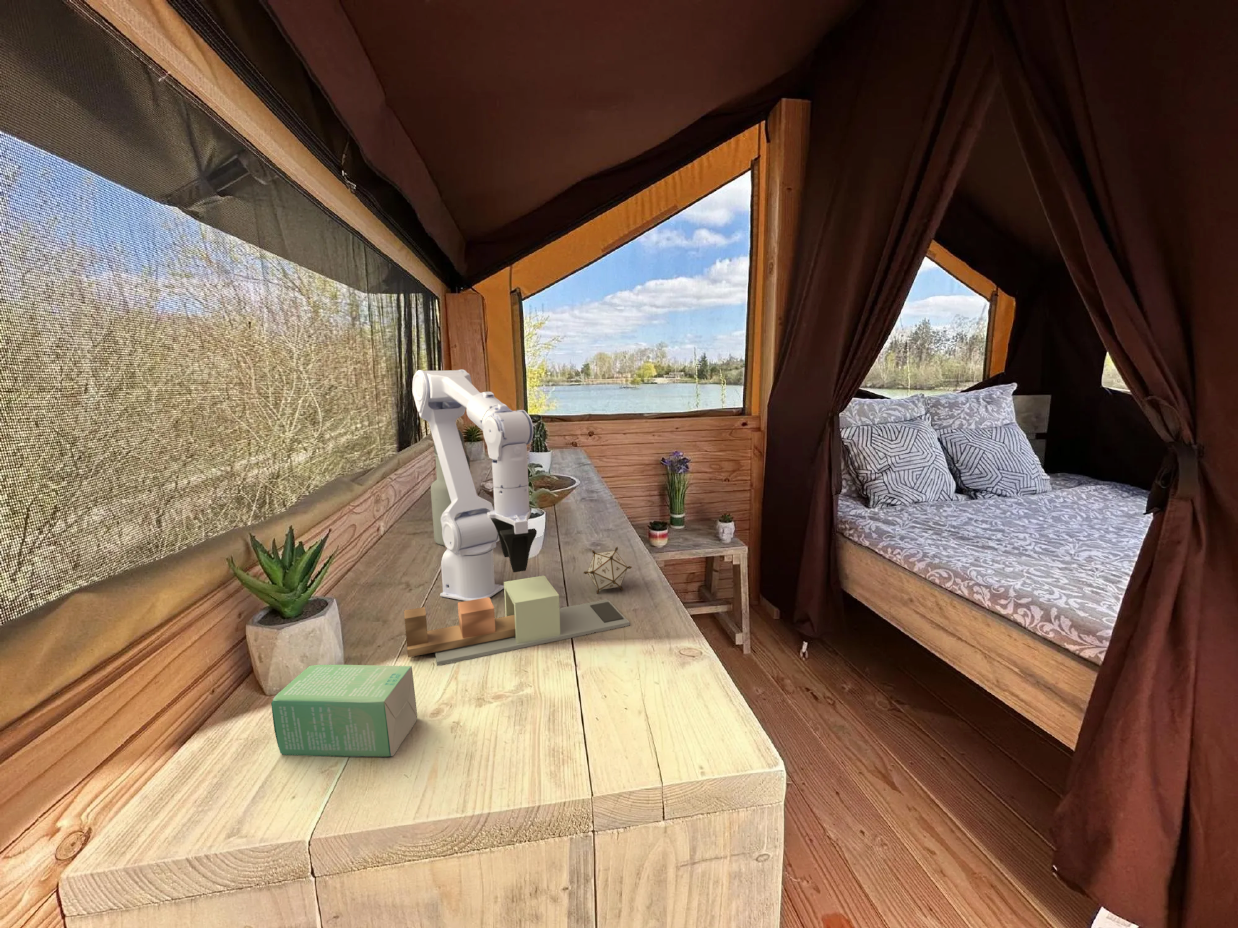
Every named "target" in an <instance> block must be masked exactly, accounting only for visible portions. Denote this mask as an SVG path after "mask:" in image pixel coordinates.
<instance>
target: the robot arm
mask: <svg viewBox="0 0 1238 928" xmlns="http://www.w3.org/2000/svg"><path fill="white" fill-rule="evenodd" d="M472 383H473V382H472V377H471V374H470V373H469V372H467V370H465V369H463V368H462V369H454V370H453V369H452V370H449V369H448V370H423V369H418V370H417V371H416V372H415V373H414V375H413V378H412V388H411V389H412V390H411V391H412V396H413V400H414V403H415V407H416V410H417V412H418V416H419V418H420V419H422V420H424V421H427V423H428V426H429V429H430V432H431V437H432V440H433V444H435V447H436V451H437V454H438V458H439V461H440V465H441V468H442V472H443V475H444V479H445V482H446V485H447V489H448V492H449V496H450V499H451V504H450V505H449V506H448V507H447V509H446V510H445V511H444V512H443V514H442V516H441V524H442V536H443V541H444V544H445V546H444V547H446V550H445V551H444V553H443V555H442V557H441V562H440V568H441V581H442V582H441V583H442V592H440V594H439V596H440V597H443V598H448V599H449V598H450V599H454V600H459V601H463V602H464V601H469V600H475V599H481V598H487V597H489V598H490V599H491V598H492V597H493V596H494V595H496V594H497V593H499V592H501V591H502V590H504V584H497V583H495V581H496V580H495V566H494V548H495V549H496V548H497V543H498V542H499V543H500V548H501V550H502V554H503V557H504V558H508V559H509V563H510V567H511V570H512V572H513V573H520V572H525V571H527V569H528V568H527V567H528V562H529V556H530V553H531V552H530V551H531V548H532V546H533V542H534V540H535V538H536V537H537V534H538V533H537V532H538V531H537V529H536V527H535V528H529V524H528V522H529V519H530V517H531V514H532V512H531V511H532V510H531V508H530V494H529V491H530V489H529V488H530V487H529V470H528V469H529V467H528V464H529V463H528V447H527V446H528V445H529V444H530V443H531V442H532V440H533V437H534V424H533V421H532V419H531V416H530V415H529V413H528V412H527V411H526V410H524V409H517V410H512V409H511V408H510V407H509V406H508V405H507V404H505V403H503V402H502V401H501V400H500V399H498V398H497V397H495V394H494V392H492V391H483V392H480V391H479V390H478V388H476V387H475V385H473V384H472ZM465 412H466V415H467V417H468V419H469V420H470V421H471V422H472V423H473V424H474V425H476V426H477V427H478V428H479V429H480V430H481V431H482V433H483V439H484V441H485V444H486V447H487V454H488V458H489V459H491V469H492V471H491V472H492V487H493V503H492V502H490V501H489V500H486V499H484V498H483V497H480V496H479V495H478V493H477V489H476V486H475V484H474V480H473V476H472V473H471V468H470V469H469V466H468V462H467V459H466V456H465V454H466V453H465V450H464V449H463V448H464V447H463V446H462V442H461V439H460V436H459V432H458V430H459V429H458V426H457V420H458V419H459V418H461V417H462V416H464V415H465ZM493 504H494V505H493Z"/></svg>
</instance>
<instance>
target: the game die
mask: <svg viewBox="0 0 1238 928" xmlns="http://www.w3.org/2000/svg"><path fill="white" fill-rule="evenodd" d="M618 549H619V548H618V546H617V547H615V549H614V550H610V551H600V552H596V551H595V550H594V549H591V552H592V554H593V555H592V559H591V561H590V564H589V566H588V569H587V570H585V571H583V574H585V575H586V574H588V576H589V577H590V579H591V580H592V582H593V584H594V585H595V587H596V589H597V590H596V592H595V593H596V594H600V591H602V590H609V589H617V588H619V590H621V591H623V590H624V589H623V586H622V583H623V581H624V579H625V576H626V573H627V571H628V570H629V569H632V568H633V567H632V566H631V565H628V566H627V564H626V562H625V561H624V560H623V559H622V557H621V556H620V554H619V552H618Z"/></svg>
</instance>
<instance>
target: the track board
mask: <svg viewBox="0 0 1238 928" xmlns="http://www.w3.org/2000/svg"><path fill="white" fill-rule="evenodd" d="M605 602H609V603H610V604H611V605H612V606H613V607H614V608H615V609H616V611H617V612H618V613H619V614H620V615H621V616H622V617H623V619H621V620H616V621H611V622H606V623H604V622H603V621H602V620H601V618H600V617H599V616H598V615H597V614H596V612H595V611H594V610H593V609H592V608H591V607H590V605H594V604H599V603H605ZM559 608H560V635H558V636H553V637H548V638H543V639H538V640H533V641H528V642H523V643H518V644H517V642H516V636H513V637H508V638H503V639H498V640H493V641H488V642H483V643H478V644H473V645H468V646H463V647H458V648H453V649H448V650H442V651H437V652H434V655H435V663H436V666H441V665H447V664H451V663H452V664H453V663H456V662H460V661H465V660H470V659H471V660H472V659H475V658H481V657H486V656H490V655H495V654H500V653H504V652H509V651H515V650H517V649H518V650H519V649H520V650H521V649H523V648H529V647H534V646H538V645H543V644H548V643H553V642H556V641H562V640H566V639H567V640H569V639H571V638H577V637H582V636H586V634H587V635H591V633H592V634H595V633H594V632H596V633H600V632H605V631H610V629H611V630H615V628H616V629H620V628H624V626H625V627H630V626H629V625H630V624H631V623H630V621H629V620H628V619H627V618H626V617H625V615H624V614H622V612H621V611H620V610H619V609H618V608H617V607H616V606H615V605H614V604H613V603H612V602H611V601H610V600H609V599H601V600H596V601H591V602H587V603H586V602H585V603H579V604H575V605H569V606H564V607H559Z"/></svg>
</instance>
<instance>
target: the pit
mask: <svg viewBox="0 0 1238 928" xmlns="http://www.w3.org/2000/svg"><path fill="white" fill-rule="evenodd" d="M590 607H591V608H592V609H593V610H594V611H595V612H596V614H597V615H598V616H599V617H600V618H601V620H602V621H603V622H604V623H606V622H611V621H616V620H621V619H623V617H622V616H621V615H620V614H619V613H618V612H617V611H616V609H615V608H614V607H613V606H612V605H611V604H610V603H609V602H605V603H599V604H594V605H590Z"/></svg>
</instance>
